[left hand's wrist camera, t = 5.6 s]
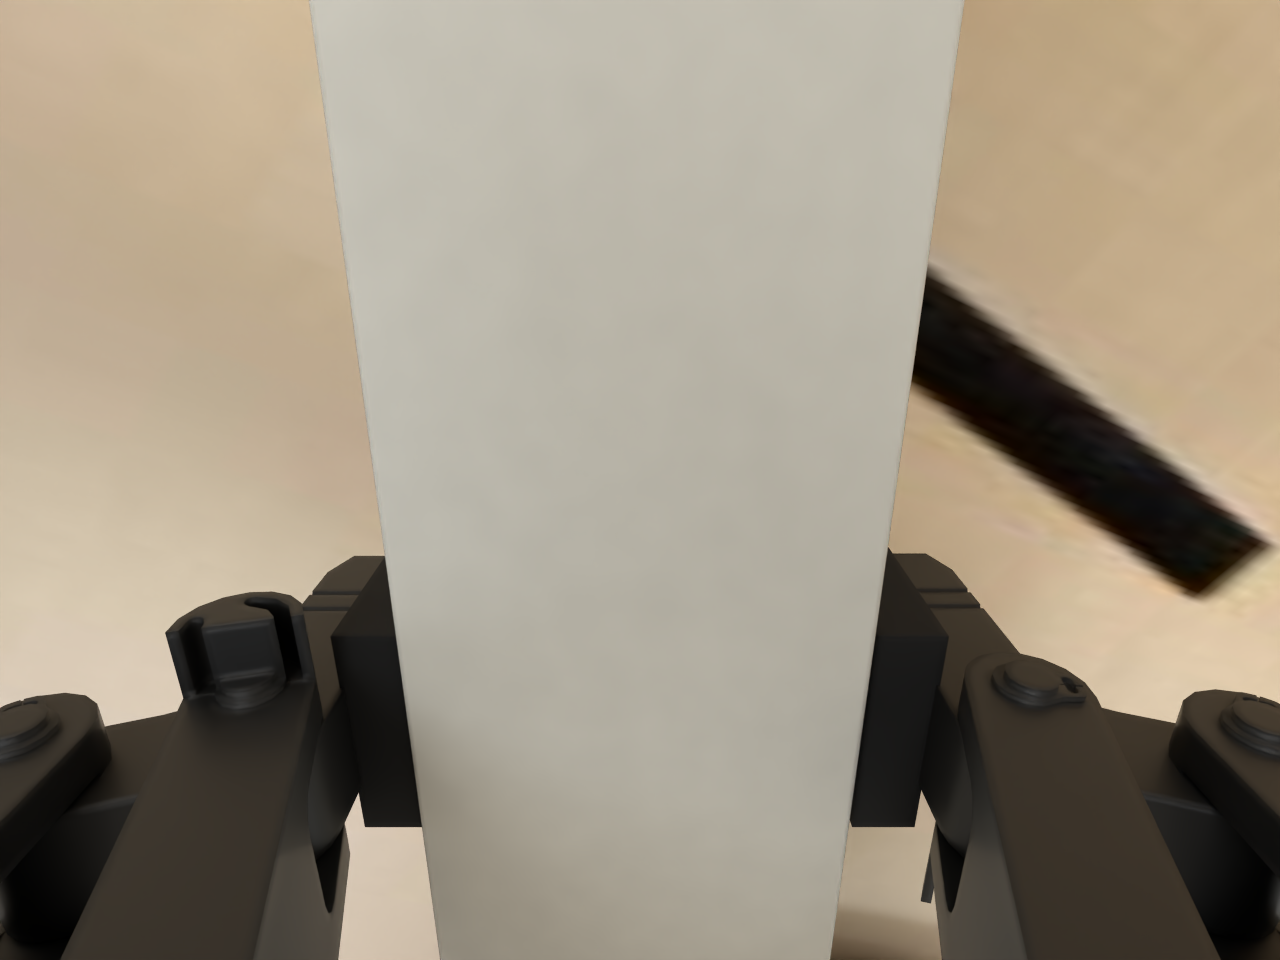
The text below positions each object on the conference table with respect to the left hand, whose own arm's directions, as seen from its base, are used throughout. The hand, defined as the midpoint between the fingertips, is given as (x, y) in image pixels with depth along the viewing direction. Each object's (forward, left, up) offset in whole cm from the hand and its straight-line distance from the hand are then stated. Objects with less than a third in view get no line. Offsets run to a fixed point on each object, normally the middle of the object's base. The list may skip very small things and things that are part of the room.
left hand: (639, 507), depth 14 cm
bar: (+10, +29, -1) cm, 31 cm away
